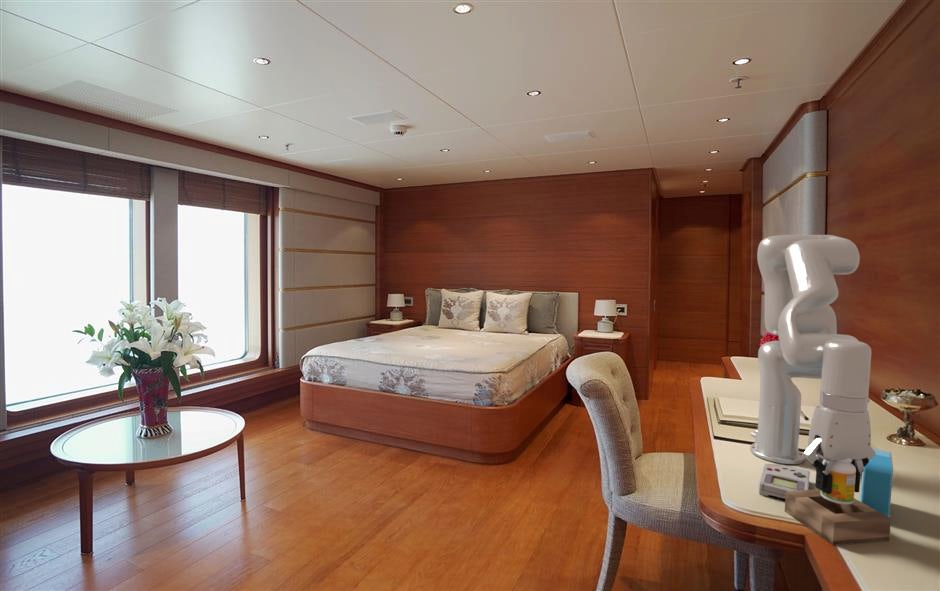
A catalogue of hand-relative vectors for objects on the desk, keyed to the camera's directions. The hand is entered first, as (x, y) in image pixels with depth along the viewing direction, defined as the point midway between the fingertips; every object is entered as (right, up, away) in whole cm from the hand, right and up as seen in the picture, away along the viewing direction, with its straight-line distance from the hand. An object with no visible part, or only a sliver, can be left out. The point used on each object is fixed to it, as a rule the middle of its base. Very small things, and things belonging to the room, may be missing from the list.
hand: (837, 489), depth 97 cm
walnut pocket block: (0, -8, +1) cm, 8 cm away
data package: (+13, -7, +7) cm, 17 cm away
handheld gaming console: (0, -7, +16) cm, 18 cm away
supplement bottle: (0, -2, 0) cm, 2 cm away
